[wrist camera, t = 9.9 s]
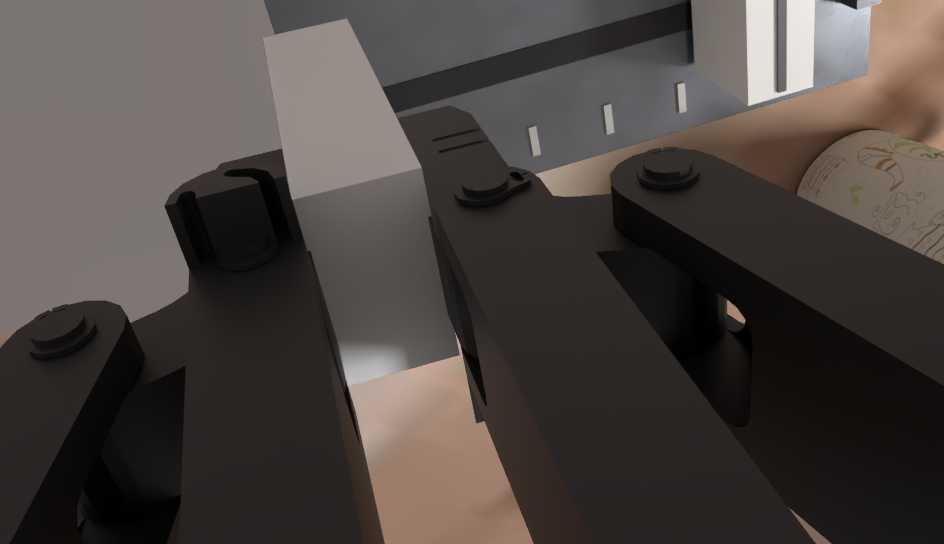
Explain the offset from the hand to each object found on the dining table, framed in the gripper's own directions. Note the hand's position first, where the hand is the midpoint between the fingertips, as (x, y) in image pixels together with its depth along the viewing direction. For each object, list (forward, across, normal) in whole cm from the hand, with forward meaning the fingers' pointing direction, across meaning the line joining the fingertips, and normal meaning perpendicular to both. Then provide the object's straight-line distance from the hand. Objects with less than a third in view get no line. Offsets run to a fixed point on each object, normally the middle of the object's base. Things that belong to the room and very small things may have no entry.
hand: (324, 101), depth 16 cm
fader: (+14, +15, -5) cm, 21 cm away
